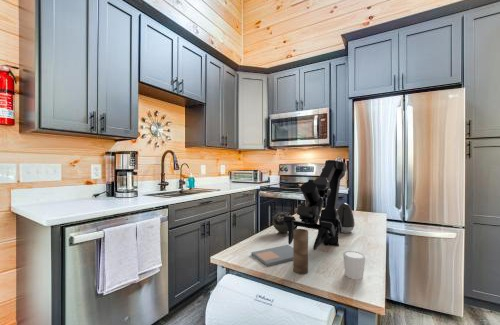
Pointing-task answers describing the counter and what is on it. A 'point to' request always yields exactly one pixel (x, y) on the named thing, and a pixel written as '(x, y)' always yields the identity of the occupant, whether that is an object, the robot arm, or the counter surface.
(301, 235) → the walnut roller
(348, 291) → the counter surface
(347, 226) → the dark grey tapered dome
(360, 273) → the white cup
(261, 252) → the slate board
